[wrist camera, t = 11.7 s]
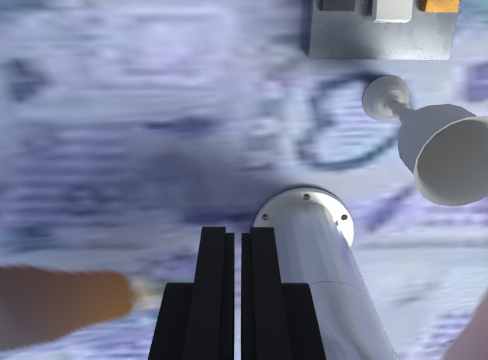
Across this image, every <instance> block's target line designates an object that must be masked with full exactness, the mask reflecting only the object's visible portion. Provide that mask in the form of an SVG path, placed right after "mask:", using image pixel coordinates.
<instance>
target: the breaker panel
mask: <svg viewBox="0 0 488 360" xmlns="http://www.w3.org/2000/svg"><path fill="white" fill-rule="evenodd" d="M460 3H461V0H413V5H412V18H411V20H410V21H408V22H406V23H387V22H372V4H373V0H310V10H309V24H308V39H307V53H306V56H307V57H308V58H309V59H419V60H449V55H450V50H451V45H452V41H453V36H454V31H455V26H456V22H457V17H458V12H459V7H460Z"/></svg>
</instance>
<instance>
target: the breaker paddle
mask: <svg viewBox="0 0 488 360" xmlns="http://www.w3.org/2000/svg"><path fill="white" fill-rule="evenodd" d="M412 5H413V0H373V4H372V22H387V23H406V22H408V21H410V20H411V18H412Z"/></svg>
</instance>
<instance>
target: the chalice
mask: <svg viewBox="0 0 488 360" xmlns="http://www.w3.org/2000/svg"><path fill="white" fill-rule="evenodd" d="M408 102H409V90H408V86H407V85H406V83H405V82H404V81H403V80H402V79H401V78H399V77H396V76H393V75H387V76H382V77H379V78H377V79H375V80H374V81H373V82H371V83H370V84H369V86H368V87H367V88H366V90H365V92H364V95H363V101H362V104H363V108H364V111H365V112H366V113H367V115H368V116H369V117H371V118H372V119H375V120H378V121H387V120H392V119H398V120H400V122H401V123H402V125H401V127H400V130H399V135H398V150H399V155H400V158H401V160H402V161H403V162H404V164H405V165H406V166H407V167H408V169H409V170H410V171H411V172H412V173H413V174H414V178H415V183H416V187H417V188H418V190H419V191H420V193H421V194H422V195H423V197H425V198H426V199H428V200H430V201H431V202H433V203H435V204H439V205H444V206H461V205H466V204H470V203H473V202H476V201H479V200H481V199H482V198H484V197H486V196H488V117H487V116H476V115H474V114H472V113H471V112H469V111H467V110H465V109H464V108H462V107H460V106H455V105H451V104H444V105H431V106H426V107H423V108H420V109H418V110H414V109H411V108H410V106H409V104H408Z"/></svg>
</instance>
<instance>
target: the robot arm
mask: <svg viewBox="0 0 488 360" xmlns="http://www.w3.org/2000/svg"><path fill="white" fill-rule="evenodd" d="M304 194H307V195H304ZM263 214H266V215H263ZM343 214H344V215H343ZM353 238H354V225H353V220H352V218H351V215H350V213H349V211H348V209H347V208H346V206H345V205H344V204H343V203H342V202H341V201H340V200H339V199H338V198H337V197H335V196H334V195H332V194H330V193H328V192H326V191H323V190H320V189H315V188H296V189H291V190H288V191H284V192H282V193H280V194H278V195H276V196H274V197H273V198H272V199H270V200H269V201H268V202H266V203H265V205H264V206H263V207H262V208H261V209H260V211H259V212H258V214H257V215H256V218H255V220H254V223H253V227H251V230H250V233H242V255H241V360H399V358H398V356H397V354H396V353H395V351H394V349H393V347H392V345H391V343H390V341H389V339H388V337H387V335H386V332H385V330H384V328H383V326H382V323H381V321H380V319H379V316H378V314H377V312H376V309H375V307H374V304H373V302H372V299H371V297H370V295H369V292H368V290H367V287H366V285H365V283H364V280H363V278H362V275H361V273H360V270H359V268H358V266H357V263H356V261H355V258H354V256H353V254H352V251H351V249H350V247H351V245H352V242H353ZM148 360H234V233H226V228H225V227H202V232H201V239H200V245H199V252H198V259H197V265H196V272H195V278H194V283H167V284H166V287H165V290H164V294H163V298H162V303H161V307H160V311H159V315H158V319H157V323H156V327H155V331H154V336H153V340H152V344H151V348H150V352H149V356H148Z"/></svg>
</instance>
